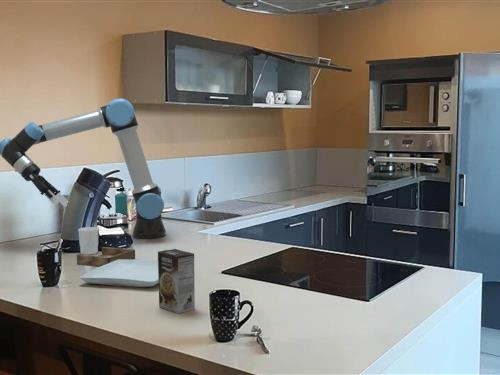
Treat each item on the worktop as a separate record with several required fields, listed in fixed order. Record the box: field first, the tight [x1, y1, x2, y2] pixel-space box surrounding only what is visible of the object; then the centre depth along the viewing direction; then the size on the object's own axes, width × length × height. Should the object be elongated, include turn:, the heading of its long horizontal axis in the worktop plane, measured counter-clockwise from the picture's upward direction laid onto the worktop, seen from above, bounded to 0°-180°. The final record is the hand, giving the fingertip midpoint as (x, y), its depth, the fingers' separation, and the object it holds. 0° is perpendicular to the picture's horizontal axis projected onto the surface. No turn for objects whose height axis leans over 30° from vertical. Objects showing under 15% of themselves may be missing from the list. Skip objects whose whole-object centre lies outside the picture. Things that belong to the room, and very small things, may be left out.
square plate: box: [78, 259, 159, 288], centre depth 202 cm, size 27×27×4 cm
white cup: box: [78, 226, 99, 256], centre depth 243 cm, size 8×8×10 cm
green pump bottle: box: [114, 186, 129, 218], centre depth 310 cm, size 6×7×20 cm
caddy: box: [76, 246, 136, 267], centre depth 228 cm, size 15×16×4 cm
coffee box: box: [157, 248, 196, 315], centre depth 167 cm, size 9×6×16 cm
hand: (62, 204), depth 249 cm, fingers open, 13 cm apart
